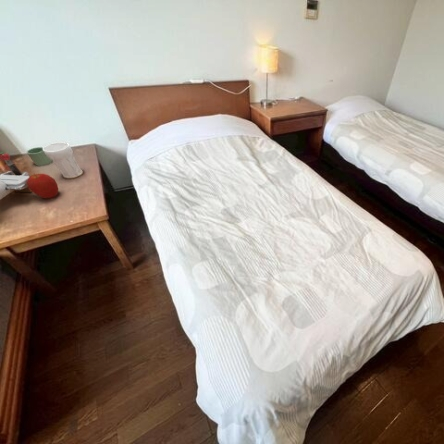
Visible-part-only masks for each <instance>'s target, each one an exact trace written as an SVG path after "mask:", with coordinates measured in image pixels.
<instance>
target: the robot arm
mask: <svg viewBox="0 0 444 444" xmlns="http://www.w3.org/2000/svg"><path fill="white" fill-rule="evenodd" d="M21 174H22V175H20V176H17V175H15V174H14V173H13V172H12V170H8V171H6V172H3V173H1V174H0V201H1V200H2V199H3V198H6V196H8V195H9V194H10V193H11V191H15V190H22V189H24V188H26V187H28V186H27V180H28V178H29V177H30V176H31V175H30V173H29V172H28V171H23V172H21Z"/></svg>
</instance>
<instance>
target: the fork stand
mask: <svg viewBox="0 0 444 444" xmlns="http://www.w3.org/2000/svg"><path fill="white" fill-rule="evenodd" d="M14 192H18V193H33V192H32V191H31V190H30V189H29V188H28V187H26V188H24V189H22V190H14Z"/></svg>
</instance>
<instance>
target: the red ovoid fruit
mask: <svg viewBox="0 0 444 444" xmlns="http://www.w3.org/2000/svg"><path fill="white" fill-rule="evenodd" d="M29 176H30V177H29V178H28V180H27V186H28V188H29V189H30V190H31V191H32V192H31V193H34V194H35V195H36V196H38V197H40V198H43V199H53V198H55V197H57V195H58V194H59V185H58V183H57V181H56V180H55V178H54V177H52V176H51V175H49V174H46V173H36V174H35V173H34V174H33V175H29Z"/></svg>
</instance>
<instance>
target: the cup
mask: <svg viewBox="0 0 444 444" xmlns="http://www.w3.org/2000/svg"><path fill="white" fill-rule="evenodd" d="M42 148H43V151H44V153H45V154H46V155H47V157H48V158H49V159H52V163H53V164H54V165H55V167H56V168H57V169H58V171H59V172H60V174H61V175H62V177H63V178H64V179H67V180H68V179H69V180H70V179H75V178H79V177H80V176H82V175H83V173H84V172H83V169H81V167H80V166H79V164H78V162H77V160H76V158H75V157H74V155H73V154H74V151H73V149H72V147H71V146H70V144H69V143H68V142H64V141H63V142H62V141H58V142H52V143H49V144H46V145H44V146H43V147H42Z"/></svg>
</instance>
